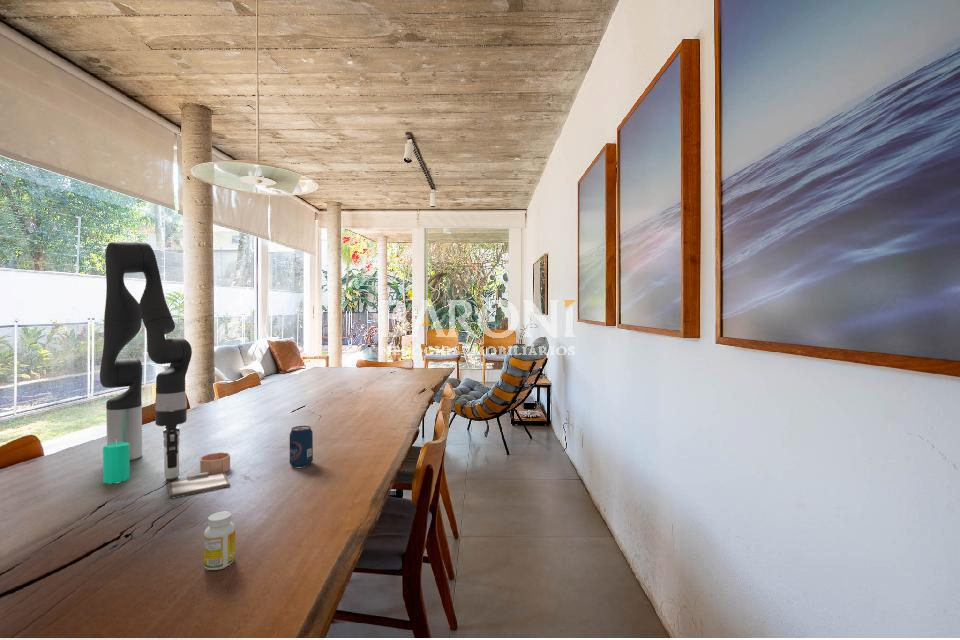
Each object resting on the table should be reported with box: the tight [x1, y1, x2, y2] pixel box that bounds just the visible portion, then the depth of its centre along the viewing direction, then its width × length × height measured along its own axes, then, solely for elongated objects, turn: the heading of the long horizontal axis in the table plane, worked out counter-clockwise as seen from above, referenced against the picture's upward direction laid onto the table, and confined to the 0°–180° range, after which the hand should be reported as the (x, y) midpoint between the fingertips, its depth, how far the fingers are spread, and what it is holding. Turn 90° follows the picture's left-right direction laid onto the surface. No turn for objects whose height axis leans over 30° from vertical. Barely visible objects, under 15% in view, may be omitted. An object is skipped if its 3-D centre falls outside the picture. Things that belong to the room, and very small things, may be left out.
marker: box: [163, 439, 180, 482], centre depth 130 cm, size 4×4×12 cm
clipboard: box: [168, 472, 231, 499], centre depth 126 cm, size 11×14×2 cm
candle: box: [102, 439, 131, 484], centre depth 130 cm, size 6×6×12 cm
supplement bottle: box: [203, 510, 236, 569], centre depth 87 cm, size 5×5×10 cm
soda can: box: [289, 425, 314, 468], centre depth 143 cm, size 7×7×12 cm
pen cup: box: [199, 452, 231, 475], centre depth 138 cm, size 8×8×4 cm
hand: (171, 464), depth 130 cm, fingers open, 5 cm apart
